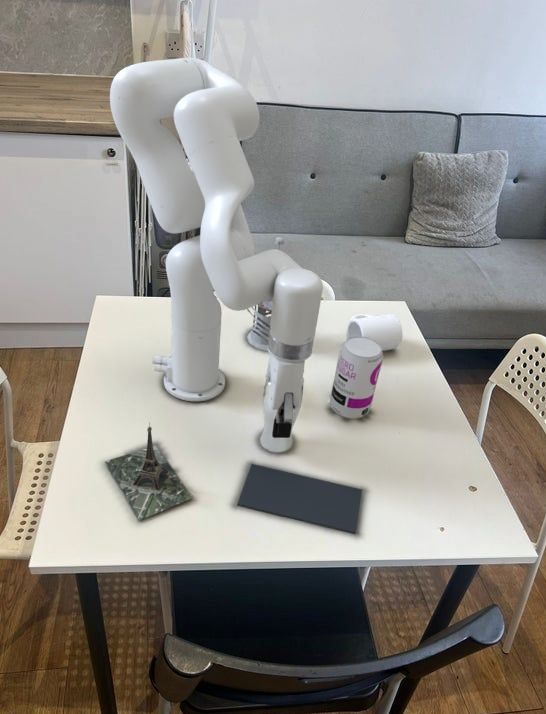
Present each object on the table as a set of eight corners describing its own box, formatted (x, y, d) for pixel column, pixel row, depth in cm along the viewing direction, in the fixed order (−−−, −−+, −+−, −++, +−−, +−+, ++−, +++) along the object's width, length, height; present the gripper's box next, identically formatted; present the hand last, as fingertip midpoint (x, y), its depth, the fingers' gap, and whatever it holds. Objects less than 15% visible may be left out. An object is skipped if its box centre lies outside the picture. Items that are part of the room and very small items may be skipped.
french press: (276, 356, 142) (289, 252, 126) (232, 338, 146) (239, 235, 130) (297, 337, 148) (312, 236, 133) (255, 320, 153) (264, 221, 137)
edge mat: (237, 505, 106) (237, 503, 106) (251, 465, 114) (251, 463, 114) (355, 534, 104) (355, 532, 103) (361, 490, 111) (362, 489, 111)
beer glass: (256, 429, 122) (263, 365, 112) (292, 429, 123) (302, 366, 113) (259, 454, 116) (267, 390, 107) (296, 454, 117) (308, 391, 108)
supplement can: (374, 402, 131) (389, 342, 122) (362, 425, 125) (377, 363, 116) (337, 390, 134) (349, 329, 124) (323, 412, 128) (335, 350, 118)
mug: (397, 355, 146) (406, 325, 141) (359, 361, 143) (366, 331, 138) (373, 327, 154) (379, 298, 149) (336, 332, 151) (341, 303, 146)
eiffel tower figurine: (102, 463, 111) (97, 404, 103) (155, 445, 116) (154, 387, 108) (139, 522, 102) (136, 462, 94) (194, 499, 107) (197, 441, 98)
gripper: (263, 314, 112) (254, 393, 123) (273, 373, 98) (262, 456, 110) (305, 315, 113) (293, 394, 124) (320, 374, 99) (305, 456, 110)
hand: (278, 423), depth 117 cm, fingers closed on beer glass, 6 cm apart
